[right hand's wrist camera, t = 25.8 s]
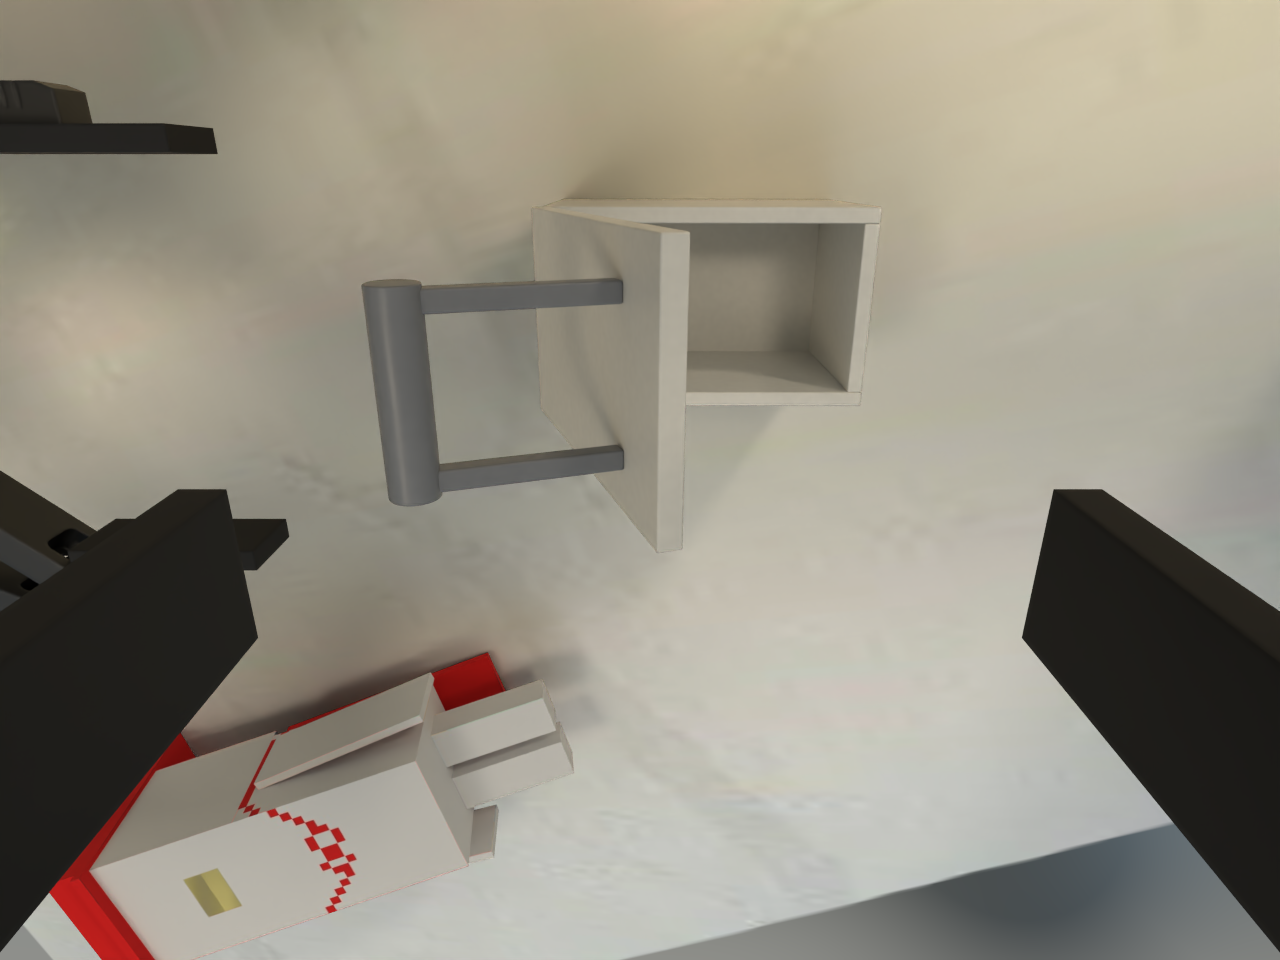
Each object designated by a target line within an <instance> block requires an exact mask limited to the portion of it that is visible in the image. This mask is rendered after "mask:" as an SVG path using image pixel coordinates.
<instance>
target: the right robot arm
mask: <svg viewBox="0 0 1280 960" xmlns="http://www.w3.org/2000/svg"><path fill="white" fill-rule="evenodd" d="M257 638H258V635H257V631H256V626H255V621H254V617H253V612H252V607H251V603H250V598H249V593H248V589H247V584H246V579H245V575H244V570H243V565H242V561H241V556H240V551H239V547H238V542H237V537H236V533H235V528H234V523H233V519H232V514H231V509H230V505H229V500H228V495H227V491H226V489H178V490H176V491H175V492H173V493H172V494H171V495H169V496H168V497H166V498H165V499H163V500H162V501H160V502H159V503H157V504H156V505H155V506H153V507H152V508H150V509H149V510H147V511H146V512H144V513H143V514H141V515H140V516H139V517H137V518H136V519H134V520H133V521H131V522H130V523H128V524H127V525H125V526H124V527H123V528H121V529H120V530H118V531H117V532H115V533H114V534H112V535H111V536H109V537H108V538H107V539H105V540H104V541H102V542H101V543H99V544H98V545H96V546H95V547H93V548H92V549H91V550H89V551H88V552H86V553H85V554H83V555H82V556H80V557H79V558H77V559H76V560H75V561H73V562H72V563H70V564H69V565H67V566H66V567H64V568H63V569H61V570H60V571H59V572H57V573H56V574H54V575H53V576H51V577H50V578H48V579H47V580H45V581H44V582H42V583H41V584H40V585H38V586H37V587H35V588H34V589H32V590H31V591H29V592H28V593H26V594H25V595H24V596H22V597H21V598H19V599H18V600H16V601H15V602H13V603H12V604H10V605H9V606H8V607H6V608H5V609H3V610H2V611H0V952H1V951H2V949H3V948H4V947H5V946H6V945H7V943H8V942H9V941H10V940H11V938H12V937H13V936H14V935H15V934H16V932H17V931H18V930H19V929H20V927H21V926H22V925H23V924H24V923H25V921H26V920H27V919H28V918H29V916H30V915H31V914H32V913H33V912H34V910H35V909H36V908H37V907H38V905H39V904H40V903H41V902H42V901H43V899H44V898H45V897H46V896H47V895H48V893H49V892H50V891H51V890H52V888H53V887H54V886H55V885H56V884H57V882H58V881H59V880H60V879H61V877H62V876H63V875H64V874H65V873H66V871H67V870H68V869H69V868H70V866H71V865H72V864H73V863H74V862H75V860H76V859H77V858H78V857H79V855H80V854H81V853H82V852H83V851H84V849H85V848H86V847H87V846H88V845H89V843H90V842H91V841H92V840H93V838H94V837H95V836H96V835H97V834H98V832H99V831H100V830H101V829H102V827H103V826H104V825H105V824H106V823H107V821H108V820H109V819H110V818H111V816H112V815H113V814H114V813H115V812H116V810H117V809H118V808H119V807H120V806H121V804H122V803H123V802H124V801H125V799H126V798H127V797H128V796H129V795H130V793H131V792H132V791H133V790H134V788H135V787H136V786H137V785H138V784H139V782H140V781H141V780H142V779H143V777H144V776H145V775H146V774H147V773H148V771H149V770H150V769H151V768H152V766H153V765H154V764H155V763H156V762H157V760H158V759H159V758H160V757H161V756H162V754H163V753H164V752H165V751H166V749H167V748H168V747H169V746H170V745H171V743H172V742H173V741H174V740H175V738H176V737H177V736H178V735H179V734H180V732H181V731H182V730H183V729H184V727H185V726H186V725H187V724H188V723H189V721H190V720H191V719H192V718H193V716H194V715H195V714H196V713H197V712H198V710H199V709H200V708H201V707H202V706H203V704H204V703H205V702H206V701H207V699H208V698H209V697H210V696H211V695H212V693H213V692H214V691H215V690H216V688H217V687H218V686H219V685H220V684H221V682H222V681H223V680H224V679H225V677H226V676H227V675H228V674H229V673H230V671H231V670H232V669H233V668H234V666H235V665H236V664H237V663H238V662H239V660H240V659H241V658H242V657H243V656H244V654H245V653H246V652H247V651H248V649H249V648H250V647H251V646H252V645H253V643H254V642H255V641H256V640H257ZM1022 638H1023V640H1024V641H1025V642H1026V643H1027V645H1028V646H1029V647H1030V648H1031V649H1032V651H1033V652H1034V653H1035V654H1036V656H1037V657H1038V658H1039V659H1040V660H1041V662H1042V663H1043V664H1044V665H1045V666H1046V668H1047V669H1048V670H1049V671H1050V673H1051V674H1052V675H1053V676H1054V677H1055V679H1056V680H1057V681H1058V682H1059V684H1060V685H1061V686H1062V687H1063V688H1064V690H1065V691H1066V692H1067V693H1068V695H1069V696H1070V697H1071V698H1072V699H1073V701H1074V702H1075V703H1076V704H1077V706H1078V707H1079V708H1080V709H1081V710H1082V712H1083V713H1084V714H1085V715H1086V716H1087V718H1088V719H1089V720H1090V721H1091V723H1092V724H1093V725H1094V726H1095V727H1096V729H1097V730H1098V731H1099V732H1100V734H1101V735H1102V736H1103V737H1104V738H1105V740H1106V741H1107V742H1108V743H1109V745H1110V746H1111V747H1112V748H1113V749H1114V751H1115V752H1116V753H1117V754H1118V756H1119V757H1120V758H1121V759H1122V760H1123V762H1124V763H1125V764H1126V765H1127V766H1128V768H1129V769H1130V770H1131V771H1132V773H1133V774H1134V775H1135V776H1136V777H1137V779H1138V780H1139V781H1140V782H1141V784H1142V785H1143V786H1144V787H1145V788H1146V790H1147V791H1148V792H1149V793H1150V795H1151V796H1152V797H1153V798H1154V799H1155V801H1156V802H1157V803H1158V804H1159V806H1160V807H1161V808H1162V809H1163V810H1164V812H1165V813H1166V814H1167V815H1168V816H1169V818H1170V819H1171V820H1172V821H1173V823H1174V824H1175V825H1176V826H1177V827H1178V829H1179V830H1180V831H1181V832H1182V834H1183V835H1184V836H1185V837H1186V838H1187V840H1188V841H1189V842H1190V843H1191V845H1192V846H1193V847H1194V848H1195V849H1196V851H1197V852H1198V853H1199V854H1200V856H1201V857H1202V858H1203V859H1204V860H1205V862H1206V863H1207V864H1208V865H1209V866H1210V868H1211V869H1212V870H1213V871H1214V873H1215V874H1216V875H1217V876H1218V877H1219V879H1220V880H1221V881H1222V882H1223V884H1224V885H1225V886H1226V887H1227V888H1228V890H1229V891H1230V892H1231V893H1232V894H1233V896H1234V897H1235V898H1236V899H1237V901H1238V902H1239V903H1240V904H1241V905H1242V907H1243V908H1244V909H1245V910H1246V912H1247V913H1248V914H1249V915H1250V916H1251V918H1252V919H1253V920H1254V921H1255V923H1256V924H1257V925H1258V926H1259V927H1260V929H1261V930H1262V931H1263V932H1264V934H1265V935H1266V936H1267V937H1268V938H1269V940H1270V941H1271V942H1272V943H1273V945H1274V946H1275V947H1276V948H1277V949H1278V951H1279V952H1280V611H1278V610H1277V609H1275V608H1274V607H1272V606H1271V605H1270V604H1268V603H1267V602H1265V601H1264V600H1262V599H1261V598H1259V597H1258V596H1256V595H1255V594H1254V593H1252V592H1251V591H1249V590H1248V589H1246V588H1245V587H1243V586H1242V585H1240V584H1239V583H1238V582H1236V581H1235V580H1233V579H1232V578H1230V577H1229V576H1227V575H1226V574H1224V573H1223V572H1221V571H1220V570H1219V569H1217V568H1216V567H1214V566H1213V565H1211V564H1210V563H1208V562H1207V561H1205V560H1204V559H1203V558H1201V557H1200V556H1198V555H1197V554H1195V553H1194V552H1192V551H1191V550H1189V549H1188V548H1187V547H1185V546H1184V545H1182V544H1181V543H1179V542H1178V541H1176V540H1175V539H1173V538H1172V537H1171V536H1169V535H1168V534H1166V533H1165V532H1163V531H1162V530H1160V529H1159V528H1157V527H1156V526H1155V525H1153V524H1152V523H1150V522H1149V521H1147V520H1146V519H1144V518H1143V517H1141V516H1140V515H1139V514H1137V513H1136V512H1134V511H1133V510H1131V509H1130V508H1128V507H1127V506H1125V505H1124V504H1123V503H1121V502H1120V501H1118V500H1117V499H1115V498H1114V497H1112V496H1111V495H1109V494H1108V493H1107V492H1105V491H1104V490H1102V489H1054V491H1053V495H1052V500H1051V505H1050V509H1049V514H1048V519H1047V523H1046V528H1045V533H1044V537H1043V542H1042V547H1041V551H1040V556H1039V561H1038V565H1037V570H1036V575H1035V579H1034V584H1033V589H1032V593H1031V598H1030V603H1029V607H1028V612H1027V617H1026V621H1025V626H1024V631H1023V635H1022Z"/></svg>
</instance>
